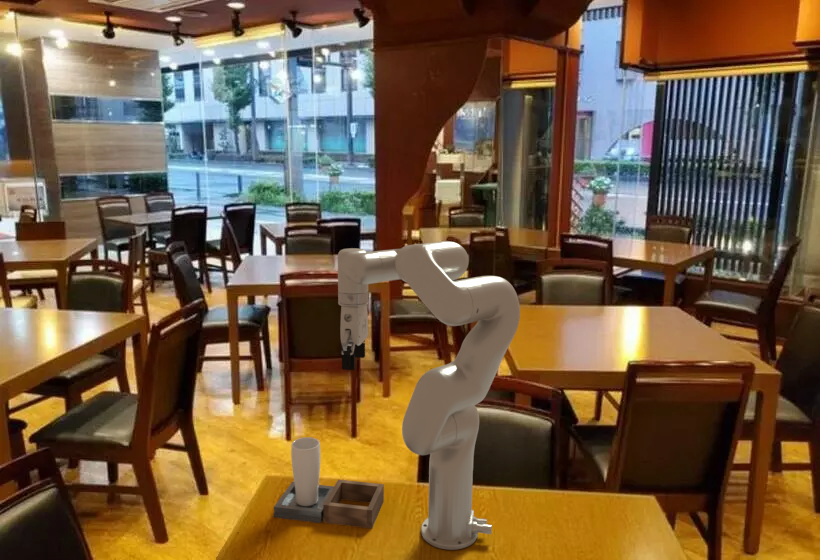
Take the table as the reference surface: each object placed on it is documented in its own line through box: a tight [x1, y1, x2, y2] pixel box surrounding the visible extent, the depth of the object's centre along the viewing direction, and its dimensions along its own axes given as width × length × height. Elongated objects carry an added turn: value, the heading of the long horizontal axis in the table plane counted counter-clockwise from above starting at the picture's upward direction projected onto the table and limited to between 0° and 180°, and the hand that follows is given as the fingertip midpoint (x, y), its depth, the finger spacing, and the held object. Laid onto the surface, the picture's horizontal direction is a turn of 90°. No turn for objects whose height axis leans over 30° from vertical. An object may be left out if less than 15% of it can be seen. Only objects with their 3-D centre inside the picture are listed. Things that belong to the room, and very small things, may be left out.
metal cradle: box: [273, 481, 335, 524], centre depth 147 cm, size 11×12×2 cm
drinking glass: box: [290, 436, 321, 506], centre depth 146 cm, size 7×7×15 cm
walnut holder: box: [323, 479, 385, 529], centre depth 145 cm, size 11×11×4 cm
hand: (353, 363), depth 157 cm, fingers open, 9 cm apart
